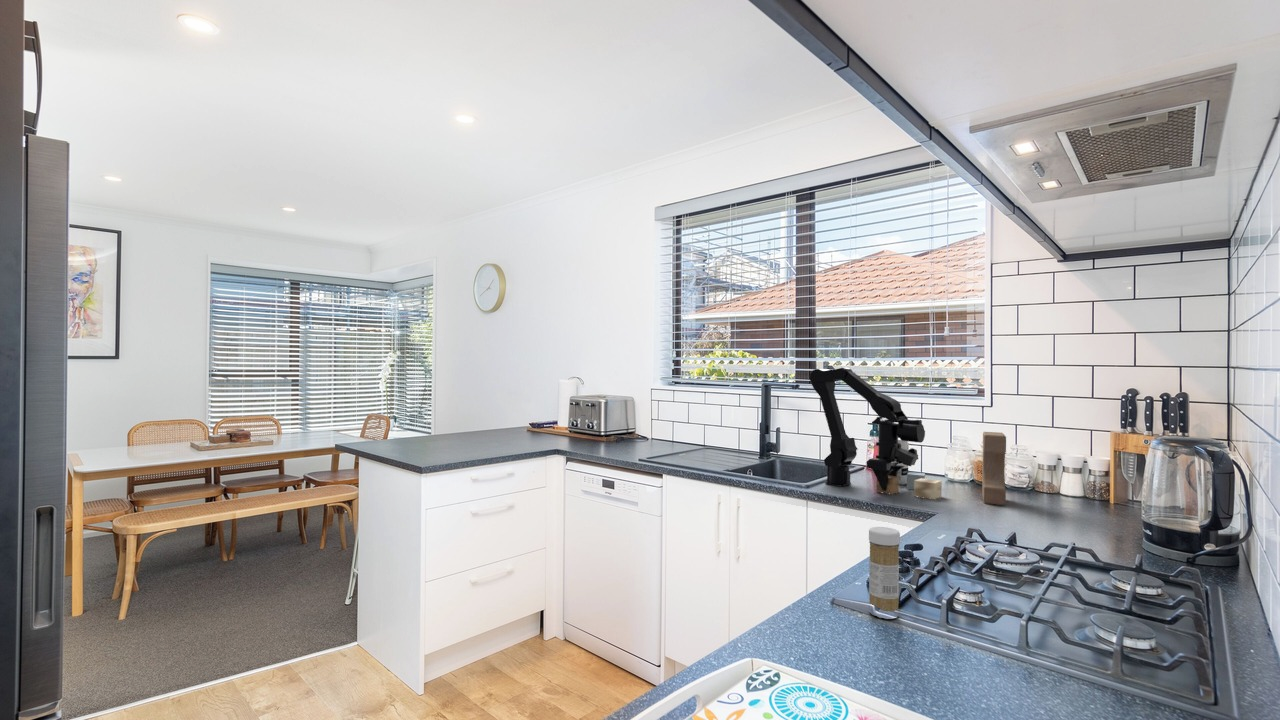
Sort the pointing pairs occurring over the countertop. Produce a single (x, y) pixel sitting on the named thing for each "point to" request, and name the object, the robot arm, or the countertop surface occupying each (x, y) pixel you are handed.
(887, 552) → the sprinkles bottle
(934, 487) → the maple block
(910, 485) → the slate cube
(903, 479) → the supplement can
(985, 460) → the decorative block
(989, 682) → the countertop surface
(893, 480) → the walnut cube
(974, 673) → the countertop surface
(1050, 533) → the countertop surface
